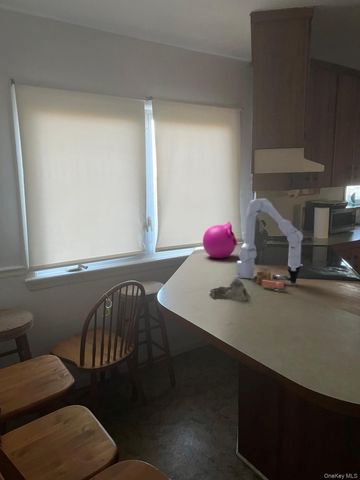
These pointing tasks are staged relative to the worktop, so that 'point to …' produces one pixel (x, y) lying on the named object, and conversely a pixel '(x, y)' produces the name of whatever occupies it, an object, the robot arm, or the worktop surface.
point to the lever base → (279, 290)
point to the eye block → (263, 275)
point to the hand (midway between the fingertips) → (293, 281)
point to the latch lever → (273, 284)
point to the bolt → (282, 278)
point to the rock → (231, 291)
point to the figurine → (219, 241)
